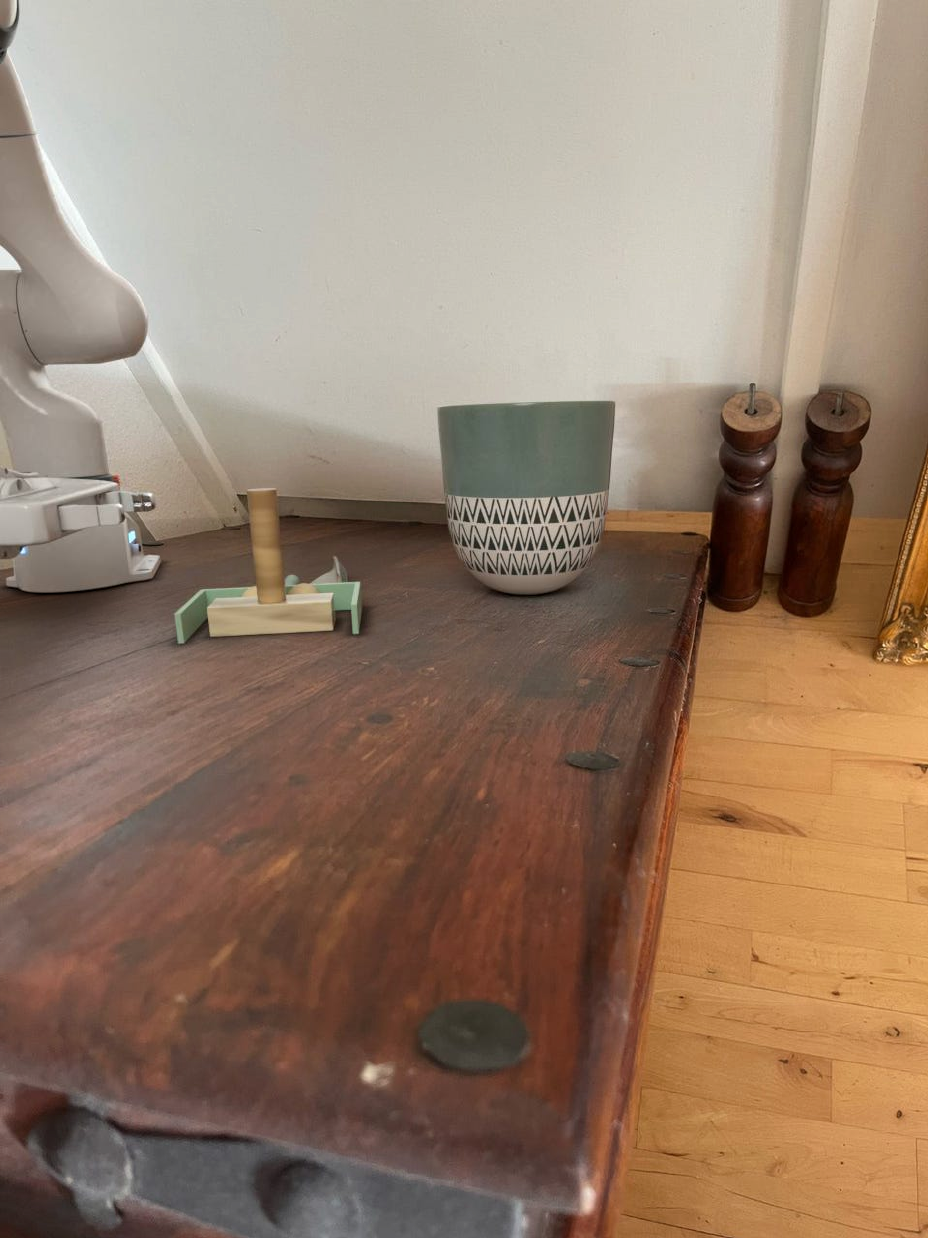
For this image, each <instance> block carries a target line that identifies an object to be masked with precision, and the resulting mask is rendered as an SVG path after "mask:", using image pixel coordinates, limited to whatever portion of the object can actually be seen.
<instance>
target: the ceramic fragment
mask: <svg viewBox="0 0 928 1238" xmlns="http://www.w3.org/2000/svg"><path fill="white" fill-rule="evenodd" d="M332 563H333V567H332V569H331V570H330V571H328V572H326V573H324V574H322V575H320V576H318V577H316V579H314V580H313V581H312V582H309V584H324V583H344V582H349V581H348V575H347V571H346V568H345V567H344V565H343V564H342V563H341V561H340V559H339V558H338V557H337V556H336V555H333V557H332Z"/></svg>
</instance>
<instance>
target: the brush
mask: <svg viewBox="0 0 928 1238" xmlns="http://www.w3.org/2000/svg"><path fill="white" fill-rule="evenodd" d="M246 499H247V508H248V509H247V510H248V519H249V529H250V538H251V548H252V558H253V566H254V575H255V576H254V578H255V586H256V588H257V596H254V597H234V598H216V599H215V600H214V601H213V602H212V603H211V604H210V605H209V606H208V607H207V615H208V618H207V621H208V629H209V631H208V632H209V637H210V638H217V637H237V636H254V635H274V634H292V633H312V632H328V631H330V632H332V631H334V629H335V626H336V620H337V615H336V610H335V602H334V593H316V594H296V595H286V588H285V578H286V576H285V569H284V568H285V566H284V557H283V545H282V536H281V523H280V515H279V514H280V513H279V503H278V491H277V488H275V487H260V488H259V487H257V488H250V489H249V488H248V489H246Z"/></svg>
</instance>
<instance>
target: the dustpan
mask: <svg viewBox="0 0 928 1238" xmlns="http://www.w3.org/2000/svg"><path fill="white" fill-rule="evenodd" d="M298 584H301V582H300V579H299V577H298V576H297V575H295V574H289V575H287V576H285V588H286V595H288V593H289V591H290V590H291V589H292V588H293V587H294V586H296V585H298ZM309 584H310V583H309ZM310 585H312V586H314V587H315V588H316V589H317V590H318V591H319V593H334V602H335V611H350V613H351V614H350V615H351V630H352V635H359V634H360V627H361V619H362V611H363V602H362V601H363V600H362V586H361V581H348V582H344V583H324V584H310ZM250 587H251V586H246V587H245V586H244V587H243V586H242V587H226V588H225V587H224V588H223V587H222V588H221V587H220V588H203V589H200V590H198V591H197V592H196V593H195V594H194V595H193V596H192V597H191V598H190V599H189V600H188V601H186V603H184V604H183V605H182V606H181V607H180V608H179V609H178V610H176V612H174V613H173V616H174V621H175V622H174V624H175V631H176V632H175V633H176V639H177V644H178V645H182V644H185V643H187V641H188V640H189V639H190V638H191V636H193V634H194V633H196V632H197V630H198V629H199V628H200V627H201V626H202V625H203V624H204V622H205V621H206V620H208V615H207V607H208V606H209V605H210V604H211V603H212V602H213V601H214V600H215V599H216V598H234V597H242V595H243V593H244V592H245V591H246V590H247V589H249V588H250Z"/></svg>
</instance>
